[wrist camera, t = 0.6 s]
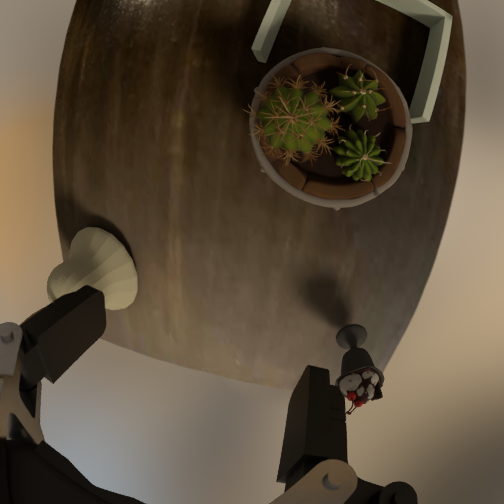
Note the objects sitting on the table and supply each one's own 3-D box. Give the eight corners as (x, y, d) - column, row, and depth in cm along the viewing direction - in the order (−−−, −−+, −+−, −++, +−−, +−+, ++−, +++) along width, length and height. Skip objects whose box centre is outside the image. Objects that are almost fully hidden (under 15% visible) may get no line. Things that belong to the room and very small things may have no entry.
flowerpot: (382, 80, 26) (464, 26, 7) (375, 198, 32) (453, 265, 13) (264, 68, 28) (220, -12, 9) (261, 187, 34) (213, 244, 15)
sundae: (323, 332, 40) (327, 410, 26) (363, 313, 38) (383, 390, 24) (340, 357, 42) (346, 432, 28) (377, 341, 39) (395, 415, 26)
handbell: (150, 245, 39) (30, 349, 17) (137, 317, 46) (58, 418, 23) (78, 210, 40) (-40, 273, 17) (75, 281, 46) (-11, 355, 23)
